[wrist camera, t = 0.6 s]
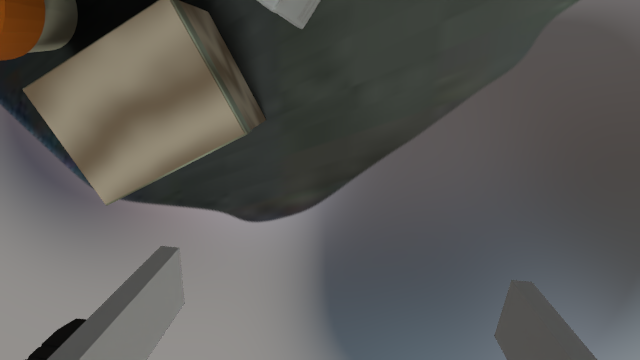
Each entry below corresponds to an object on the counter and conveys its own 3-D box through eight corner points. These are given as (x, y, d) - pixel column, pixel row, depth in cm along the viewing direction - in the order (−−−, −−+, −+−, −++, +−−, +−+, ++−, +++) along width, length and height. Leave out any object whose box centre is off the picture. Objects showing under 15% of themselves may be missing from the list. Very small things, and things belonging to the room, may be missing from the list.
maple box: (87, 84, 37) (20, 88, 29) (208, 9, 33) (167, -8, 26) (151, 180, 40) (105, 206, 32) (268, 120, 36) (246, 134, 29)
